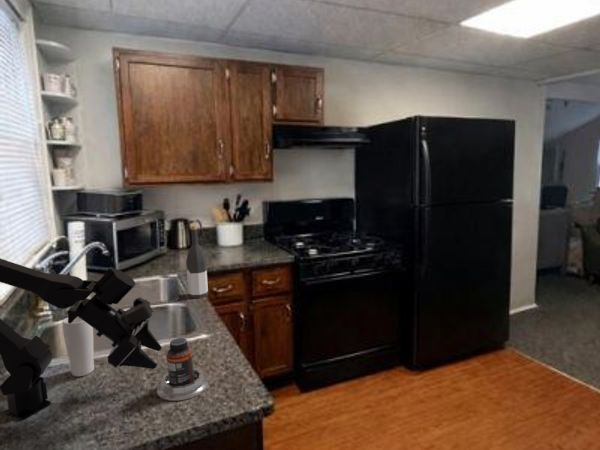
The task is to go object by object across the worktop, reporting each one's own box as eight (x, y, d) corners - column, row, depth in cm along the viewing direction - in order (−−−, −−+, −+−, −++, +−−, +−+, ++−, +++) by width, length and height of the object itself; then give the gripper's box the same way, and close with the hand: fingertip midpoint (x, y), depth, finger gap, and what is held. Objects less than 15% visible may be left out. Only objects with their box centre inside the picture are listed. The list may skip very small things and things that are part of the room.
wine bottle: (209, 296, 163) (205, 226, 159) (189, 299, 160) (184, 227, 156) (206, 291, 170) (202, 223, 166) (187, 294, 167) (182, 225, 163)
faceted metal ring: (186, 405, 87) (185, 395, 87) (146, 394, 92) (145, 385, 92) (217, 379, 98) (217, 369, 98) (180, 370, 103) (179, 361, 102)
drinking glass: (91, 363, 108) (85, 311, 106) (102, 370, 104) (96, 317, 102) (64, 373, 103) (57, 319, 101) (74, 381, 99) (68, 325, 96)
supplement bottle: (187, 375, 99) (184, 333, 98) (199, 384, 95) (196, 340, 93) (165, 384, 95) (161, 341, 94) (175, 394, 91) (172, 349, 89)
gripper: (120, 305, 80) (178, 349, 84) (136, 281, 98) (184, 318, 102) (81, 346, 80) (142, 388, 84) (105, 313, 98) (154, 350, 102)
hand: (158, 357), depth 93 cm, fingers open, 9 cm apart
